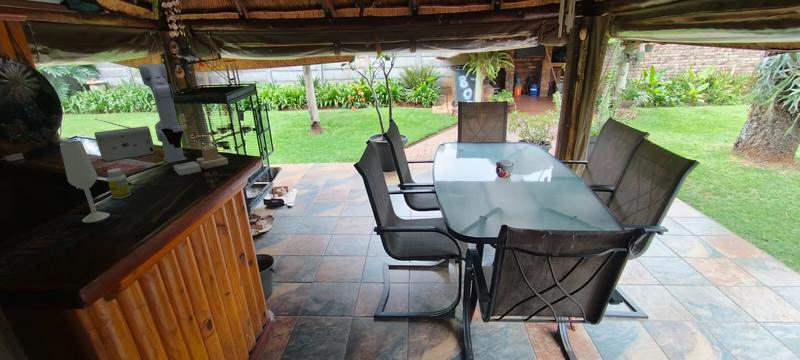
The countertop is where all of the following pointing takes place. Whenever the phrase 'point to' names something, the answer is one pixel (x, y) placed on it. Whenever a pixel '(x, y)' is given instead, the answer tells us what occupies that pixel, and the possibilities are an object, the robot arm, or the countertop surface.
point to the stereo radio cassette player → (124, 142)
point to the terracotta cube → (210, 153)
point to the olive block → (212, 162)
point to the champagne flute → (81, 174)
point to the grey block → (187, 168)
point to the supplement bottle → (118, 183)
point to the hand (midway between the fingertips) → (175, 146)
